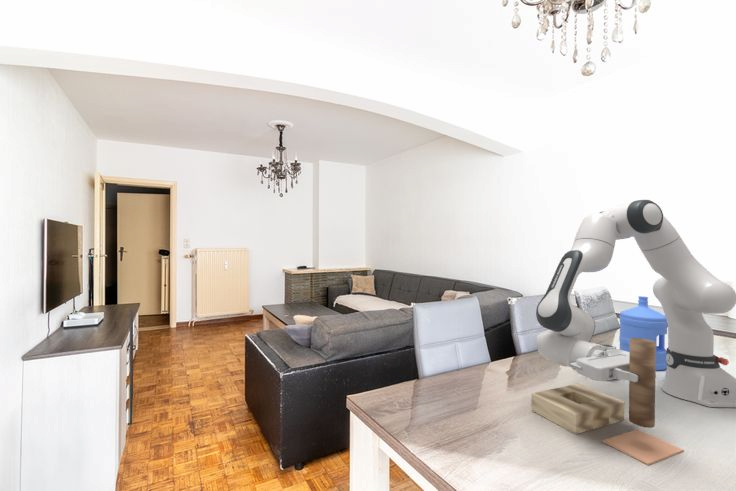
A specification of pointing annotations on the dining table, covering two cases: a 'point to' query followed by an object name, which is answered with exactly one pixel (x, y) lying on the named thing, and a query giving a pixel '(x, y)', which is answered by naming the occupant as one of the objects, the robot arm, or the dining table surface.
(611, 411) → the slotted wood base
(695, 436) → the dining table surface
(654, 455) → the terracotta mat
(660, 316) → the water jug
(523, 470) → the dining table surface
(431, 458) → the dining table surface
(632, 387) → the walnut key peg
